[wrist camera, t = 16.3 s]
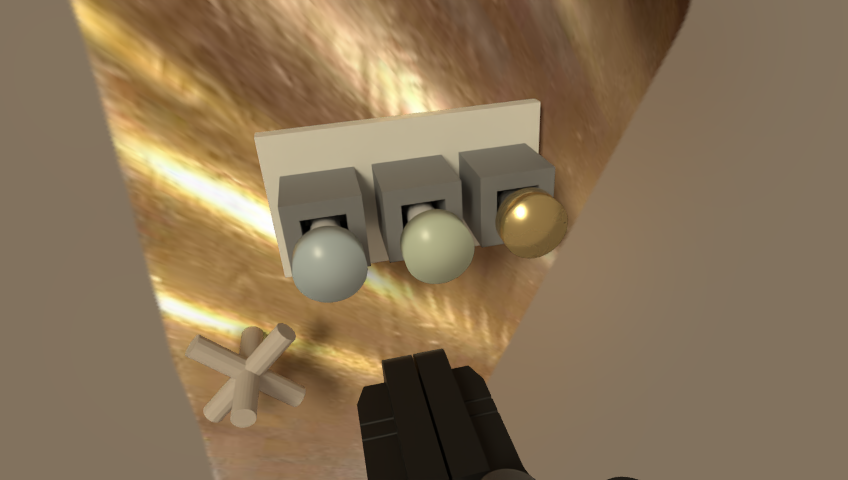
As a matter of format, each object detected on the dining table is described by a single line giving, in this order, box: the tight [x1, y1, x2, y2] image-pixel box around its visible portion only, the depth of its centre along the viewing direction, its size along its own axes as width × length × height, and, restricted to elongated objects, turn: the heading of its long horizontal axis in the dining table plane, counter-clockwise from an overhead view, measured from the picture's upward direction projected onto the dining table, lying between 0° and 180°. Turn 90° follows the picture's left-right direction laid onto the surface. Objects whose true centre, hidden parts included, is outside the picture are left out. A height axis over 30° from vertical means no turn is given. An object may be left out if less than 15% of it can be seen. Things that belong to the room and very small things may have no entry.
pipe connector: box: [185, 323, 306, 428], centre depth 43 cm, size 10×10×10 cm
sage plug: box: [400, 201, 475, 284], centre depth 38 cm, size 5×5×8 cm
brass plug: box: [495, 187, 568, 258], centre depth 40 cm, size 5×5×8 cm
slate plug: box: [292, 215, 368, 302], centre depth 37 cm, size 5×5×8 cm
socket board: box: [254, 99, 555, 278], centre depth 41 cm, size 12×22×7 cm, turn 94°
